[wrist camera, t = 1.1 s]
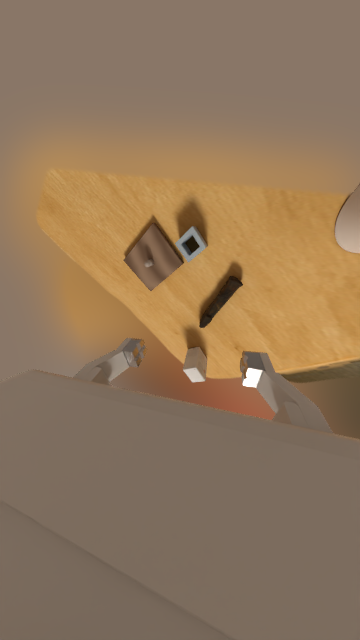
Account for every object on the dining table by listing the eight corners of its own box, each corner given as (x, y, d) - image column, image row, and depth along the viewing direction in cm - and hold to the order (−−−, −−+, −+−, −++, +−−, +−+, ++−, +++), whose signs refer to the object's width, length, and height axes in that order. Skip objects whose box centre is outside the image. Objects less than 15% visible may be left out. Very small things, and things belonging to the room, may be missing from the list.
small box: (187, 348, 56) (182, 369, 47) (199, 345, 53) (195, 367, 45) (196, 361, 59) (192, 382, 50) (207, 359, 56) (205, 381, 48)
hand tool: (230, 273, 36) (232, 277, 32) (242, 281, 36) (245, 286, 33) (194, 318, 47) (191, 326, 43) (203, 324, 48) (201, 332, 44)
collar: (195, 226, 32) (192, 225, 28) (207, 245, 34) (206, 247, 30) (180, 242, 35) (175, 243, 31) (191, 259, 36) (188, 262, 32)
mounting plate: (155, 223, 34) (146, 221, 29) (183, 263, 37) (179, 266, 33) (126, 259, 41) (115, 262, 37) (152, 289, 44) (145, 295, 40)
